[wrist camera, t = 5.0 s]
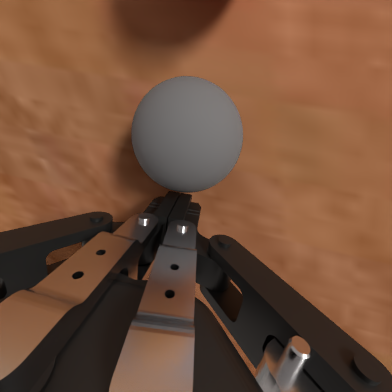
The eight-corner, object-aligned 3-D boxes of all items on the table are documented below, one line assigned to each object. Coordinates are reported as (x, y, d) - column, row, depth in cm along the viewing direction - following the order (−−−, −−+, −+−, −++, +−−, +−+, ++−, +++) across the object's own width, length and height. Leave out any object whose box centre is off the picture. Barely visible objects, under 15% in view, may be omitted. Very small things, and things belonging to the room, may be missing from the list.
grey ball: (275, 172, 8) (261, 111, 11) (153, 65, 6) (185, 33, 9) (190, 227, 11) (200, 166, 15) (93, 173, 9) (134, 118, 13)
